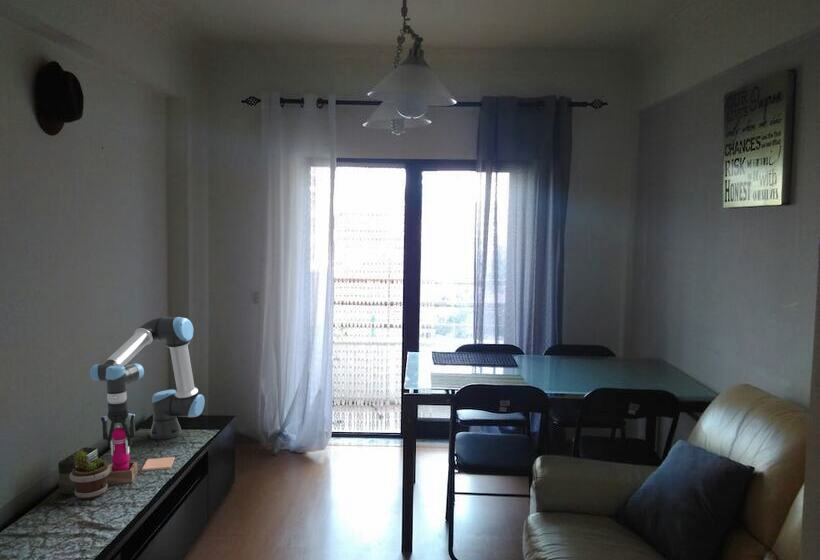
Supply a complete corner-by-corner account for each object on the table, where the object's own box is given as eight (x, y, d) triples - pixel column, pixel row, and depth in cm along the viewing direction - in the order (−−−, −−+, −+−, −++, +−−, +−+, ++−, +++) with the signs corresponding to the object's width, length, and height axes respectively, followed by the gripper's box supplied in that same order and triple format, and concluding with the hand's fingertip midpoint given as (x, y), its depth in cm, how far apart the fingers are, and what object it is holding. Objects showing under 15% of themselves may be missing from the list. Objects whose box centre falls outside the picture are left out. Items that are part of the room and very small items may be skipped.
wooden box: (111, 474, 276) (110, 463, 275) (137, 472, 278) (137, 461, 278) (104, 484, 265) (103, 473, 265) (132, 482, 267) (131, 470, 267)
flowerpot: (117, 486, 263) (115, 440, 261) (100, 502, 248) (98, 453, 246) (82, 487, 263) (79, 441, 261) (63, 503, 247) (60, 454, 246)
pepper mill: (126, 464, 276) (124, 420, 275) (133, 468, 271) (130, 424, 269) (109, 469, 271) (106, 424, 270) (115, 473, 266) (113, 428, 264)
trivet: (147, 460, 291) (147, 459, 291) (174, 458, 294) (174, 457, 294) (142, 470, 280) (141, 469, 280) (170, 468, 282) (170, 466, 282)
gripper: (91, 405, 263) (95, 458, 265) (138, 402, 267) (141, 455, 269) (96, 400, 270) (100, 452, 273) (141, 397, 274) (144, 448, 276)
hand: (120, 453), depth 271 cm, fingers closed on pepper mill, 5 cm apart
